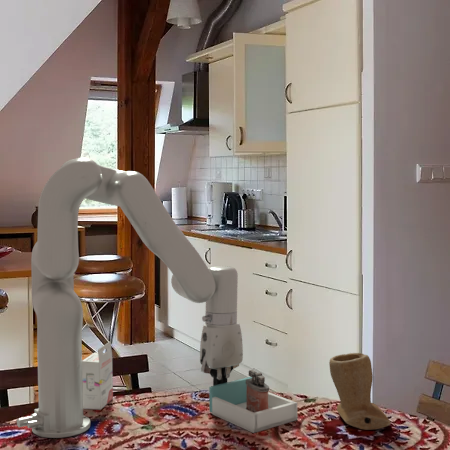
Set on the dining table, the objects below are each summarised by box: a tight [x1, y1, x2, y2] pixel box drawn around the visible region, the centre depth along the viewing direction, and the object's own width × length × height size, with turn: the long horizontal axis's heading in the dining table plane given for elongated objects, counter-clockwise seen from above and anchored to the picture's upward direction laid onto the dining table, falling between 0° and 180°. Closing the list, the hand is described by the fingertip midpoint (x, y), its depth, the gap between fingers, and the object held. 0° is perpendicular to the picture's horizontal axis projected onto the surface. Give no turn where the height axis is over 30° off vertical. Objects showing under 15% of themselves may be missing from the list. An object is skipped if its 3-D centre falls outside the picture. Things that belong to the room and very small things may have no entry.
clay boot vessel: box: [328, 352, 391, 431], centre depth 157 cm, size 15×12×15 cm
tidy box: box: [211, 391, 298, 434], centre depth 159 cm, size 13×15×4 cm
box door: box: [208, 376, 252, 414], centre depth 166 cm, size 13×1×6 cm, turn 129°
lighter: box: [246, 369, 270, 413], centre depth 158 cm, size 8×3×10 cm, turn 26°
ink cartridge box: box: [82, 341, 114, 410], centre depth 169 cm, size 9×5×15 cm, turn 168°
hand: (220, 393), depth 166 cm, fingers closed
